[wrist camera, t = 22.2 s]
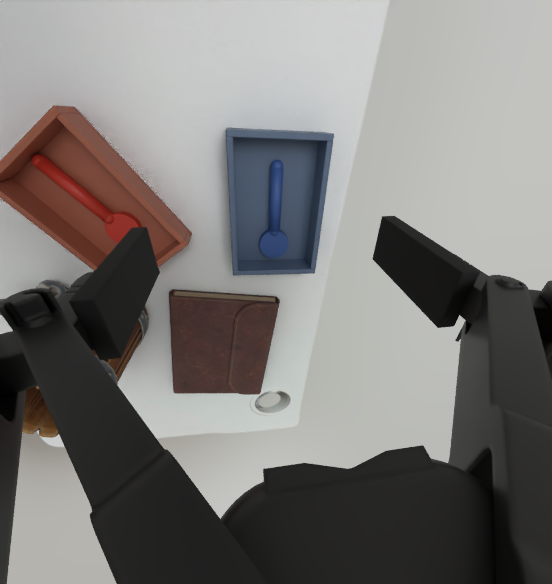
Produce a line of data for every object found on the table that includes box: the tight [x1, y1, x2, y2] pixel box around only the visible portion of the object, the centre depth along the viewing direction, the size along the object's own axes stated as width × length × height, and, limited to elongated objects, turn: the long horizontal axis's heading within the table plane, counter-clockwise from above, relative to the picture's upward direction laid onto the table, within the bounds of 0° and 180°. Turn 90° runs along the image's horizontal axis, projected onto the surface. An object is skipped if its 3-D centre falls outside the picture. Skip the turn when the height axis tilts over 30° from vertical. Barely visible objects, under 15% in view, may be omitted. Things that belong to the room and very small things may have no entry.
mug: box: [0, 280, 148, 437], centre depth 30 cm, size 16×11×15 cm
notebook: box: [169, 290, 280, 394], centre depth 42 cm, size 15×20×2 cm
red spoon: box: [31, 154, 142, 243], centre depth 28 cm, size 11×4×1 cm, turn 38°
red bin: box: [0, 106, 192, 271], centre depth 28 cm, size 15×10×4 cm
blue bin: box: [226, 128, 334, 275], centre depth 31 cm, size 15×10×4 cm
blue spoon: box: [259, 160, 288, 258], centre depth 31 cm, size 11×4×1 cm, turn 177°
